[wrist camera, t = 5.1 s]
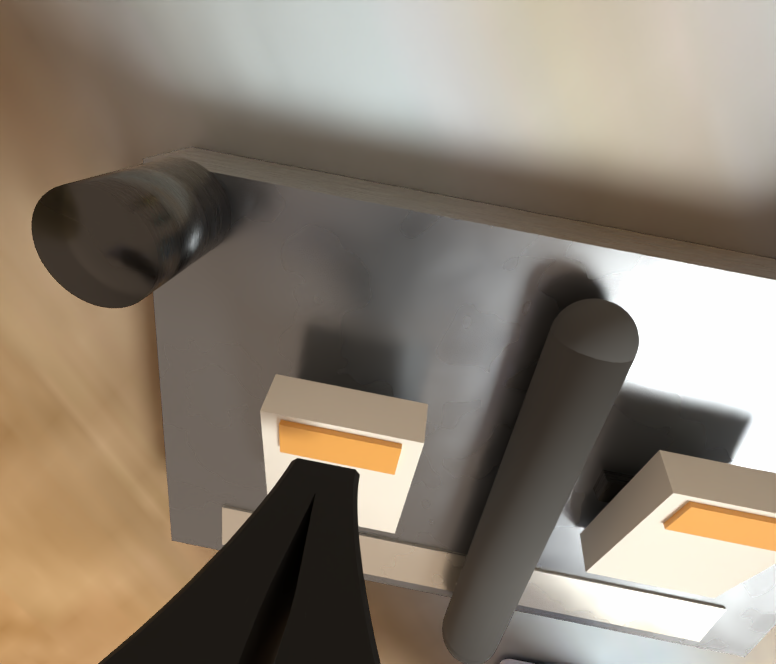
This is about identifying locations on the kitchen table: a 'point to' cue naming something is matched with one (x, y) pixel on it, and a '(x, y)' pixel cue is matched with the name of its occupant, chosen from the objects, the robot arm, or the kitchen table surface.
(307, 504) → the robot arm
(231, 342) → the panel
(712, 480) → the paddle
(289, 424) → the paddle
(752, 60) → the kitchen table surface
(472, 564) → the dark grey rod
